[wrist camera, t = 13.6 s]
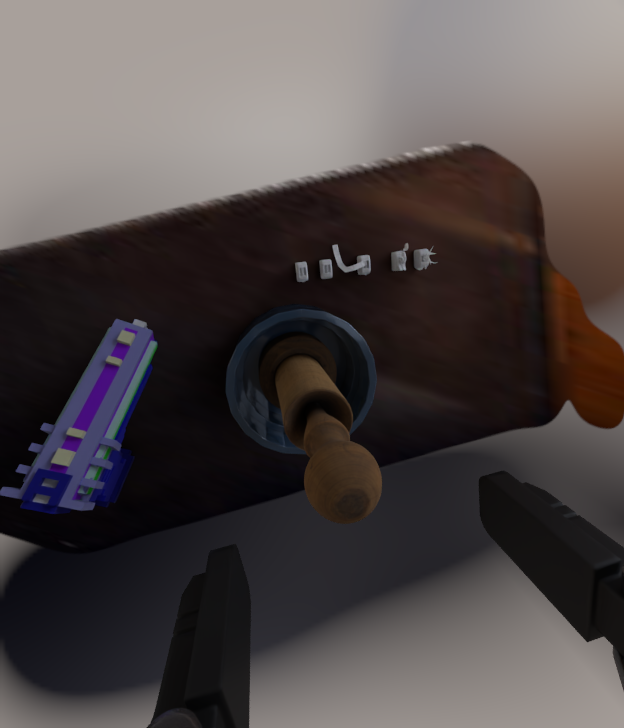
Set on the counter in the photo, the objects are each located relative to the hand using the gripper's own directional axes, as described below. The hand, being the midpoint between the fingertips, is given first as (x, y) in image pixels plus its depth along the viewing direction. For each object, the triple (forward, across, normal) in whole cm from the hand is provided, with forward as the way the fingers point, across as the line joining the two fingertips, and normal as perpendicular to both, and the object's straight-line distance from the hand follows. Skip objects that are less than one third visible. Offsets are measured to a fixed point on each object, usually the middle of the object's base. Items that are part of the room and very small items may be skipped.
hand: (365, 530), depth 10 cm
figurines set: (+20, -8, -8) cm, 23 cm away
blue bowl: (+20, 0, 0) cm, 20 cm away
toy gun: (+20, +15, 0) cm, 25 cm away
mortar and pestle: (+19, 0, 0) cm, 19 cm away
